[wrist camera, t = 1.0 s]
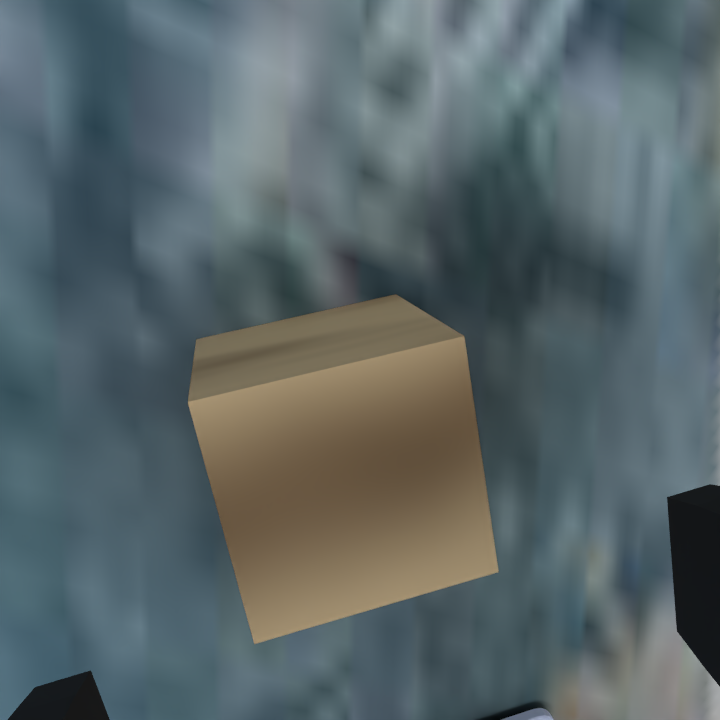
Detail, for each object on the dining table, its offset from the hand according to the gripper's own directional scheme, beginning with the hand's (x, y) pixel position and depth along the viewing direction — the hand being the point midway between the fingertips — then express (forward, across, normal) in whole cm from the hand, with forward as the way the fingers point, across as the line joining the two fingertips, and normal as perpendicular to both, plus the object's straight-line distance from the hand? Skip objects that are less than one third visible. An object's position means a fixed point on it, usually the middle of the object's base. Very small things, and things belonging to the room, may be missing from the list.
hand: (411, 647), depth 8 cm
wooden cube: (+10, 0, 0) cm, 10 cm away
